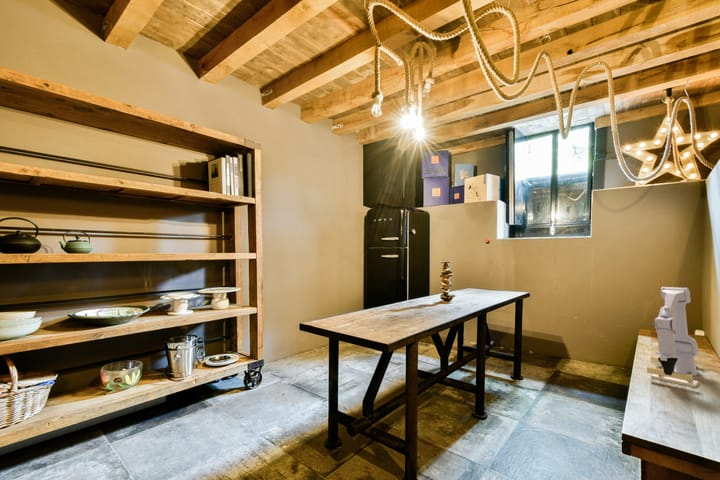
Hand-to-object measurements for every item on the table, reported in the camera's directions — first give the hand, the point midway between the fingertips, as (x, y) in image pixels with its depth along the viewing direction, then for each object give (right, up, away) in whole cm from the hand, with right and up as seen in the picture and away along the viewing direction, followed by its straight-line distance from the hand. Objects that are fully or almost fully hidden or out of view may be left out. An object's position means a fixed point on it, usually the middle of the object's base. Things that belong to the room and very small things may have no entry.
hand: (669, 374), depth 146 cm
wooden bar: (0, -1, 0) cm, 1 cm away
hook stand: (+7, -5, +4) cm, 9 cm away
